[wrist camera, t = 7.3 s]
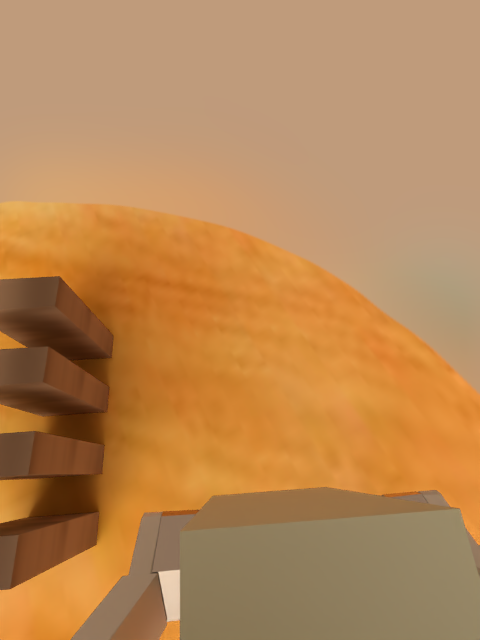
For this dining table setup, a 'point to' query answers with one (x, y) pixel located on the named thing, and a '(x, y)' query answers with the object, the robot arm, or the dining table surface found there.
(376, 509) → the sage domino
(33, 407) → the walnut domino
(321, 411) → the dining table surface
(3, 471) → the walnut domino
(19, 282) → the walnut domino
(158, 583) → the robot arm
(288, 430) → the dining table surface
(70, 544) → the walnut domino
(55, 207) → the dining table surface
